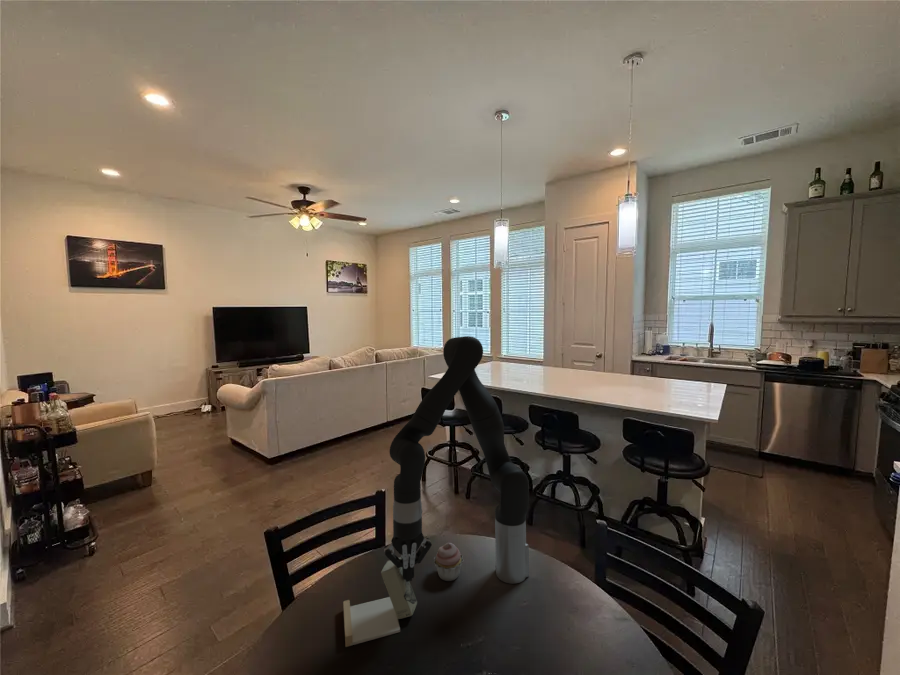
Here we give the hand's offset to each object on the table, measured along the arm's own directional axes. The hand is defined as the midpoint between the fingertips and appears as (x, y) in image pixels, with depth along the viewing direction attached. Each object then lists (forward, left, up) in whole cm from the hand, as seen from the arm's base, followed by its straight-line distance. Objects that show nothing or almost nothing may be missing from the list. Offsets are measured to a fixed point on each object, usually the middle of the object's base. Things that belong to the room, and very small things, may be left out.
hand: (408, 579), depth 97 cm
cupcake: (-15, -11, -10) cm, 21 cm away
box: (0, 0, -9) cm, 9 cm away
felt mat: (+9, -1, -9) cm, 13 cm away
